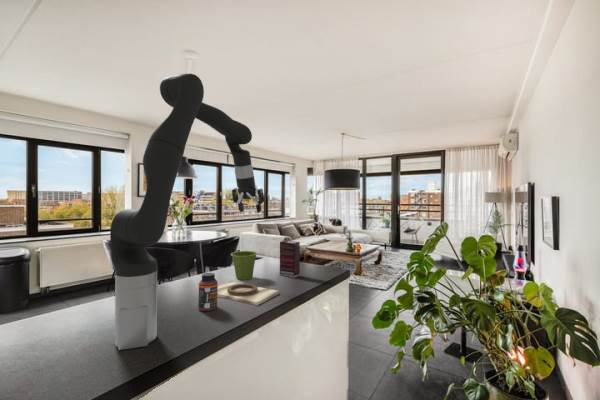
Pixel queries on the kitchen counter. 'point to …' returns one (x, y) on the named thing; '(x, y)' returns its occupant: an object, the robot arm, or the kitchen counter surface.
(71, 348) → the kitchen counter surface
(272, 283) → the kitchen counter surface
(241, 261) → the plant pot
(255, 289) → the stool seat board
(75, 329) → the kitchen counter surface
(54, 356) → the kitchen counter surface
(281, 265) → the supplement box
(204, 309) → the supplement bottle
